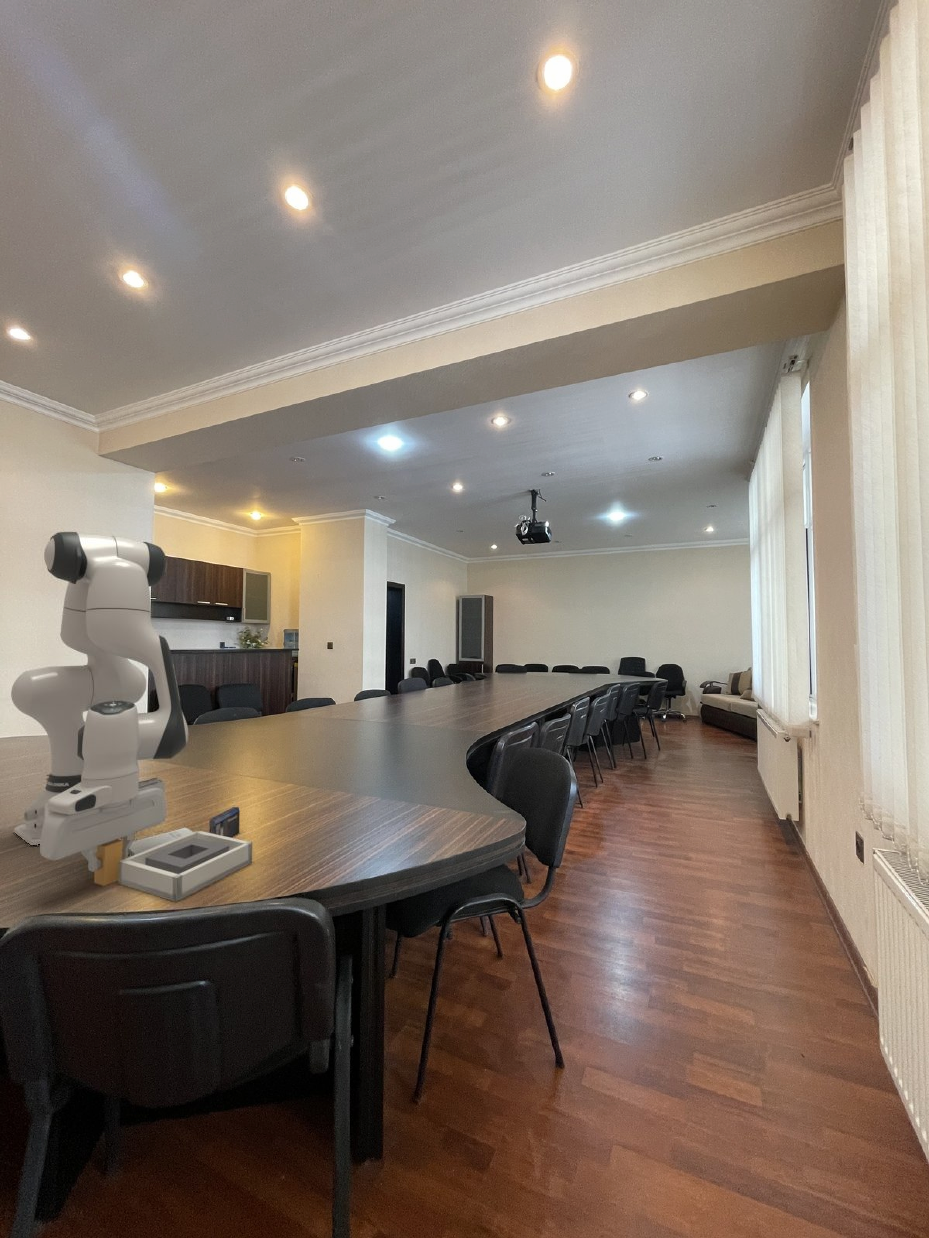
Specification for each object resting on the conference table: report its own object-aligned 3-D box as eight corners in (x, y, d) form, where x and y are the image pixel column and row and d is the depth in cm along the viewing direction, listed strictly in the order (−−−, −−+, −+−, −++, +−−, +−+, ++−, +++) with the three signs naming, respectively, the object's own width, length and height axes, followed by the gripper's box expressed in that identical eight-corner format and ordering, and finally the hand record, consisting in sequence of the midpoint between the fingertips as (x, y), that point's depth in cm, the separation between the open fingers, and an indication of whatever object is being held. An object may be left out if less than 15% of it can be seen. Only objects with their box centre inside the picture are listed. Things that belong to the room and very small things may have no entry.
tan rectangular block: (94, 882, 89) (95, 843, 90) (111, 875, 92) (112, 837, 93) (104, 885, 88) (105, 846, 89) (121, 878, 91) (122, 840, 91)
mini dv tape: (215, 847, 105) (215, 819, 105) (209, 847, 105) (209, 819, 105) (239, 833, 113) (239, 806, 113) (233, 832, 113) (233, 806, 113)
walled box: (118, 883, 89) (118, 861, 89) (197, 849, 104) (197, 830, 104) (176, 901, 83) (176, 877, 83) (252, 862, 97) (252, 842, 97)
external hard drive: (122, 851, 104) (185, 833, 114) (134, 861, 99) (199, 842, 109) (122, 843, 104) (185, 826, 114) (134, 853, 99) (199, 834, 109)
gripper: (154, 773, 102) (152, 840, 101) (36, 803, 83) (33, 885, 83) (174, 776, 99) (173, 845, 99) (57, 808, 81) (54, 893, 80)
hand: (108, 864), depth 90 cm, fingers closed on tan rectangular block, 3 cm apart
